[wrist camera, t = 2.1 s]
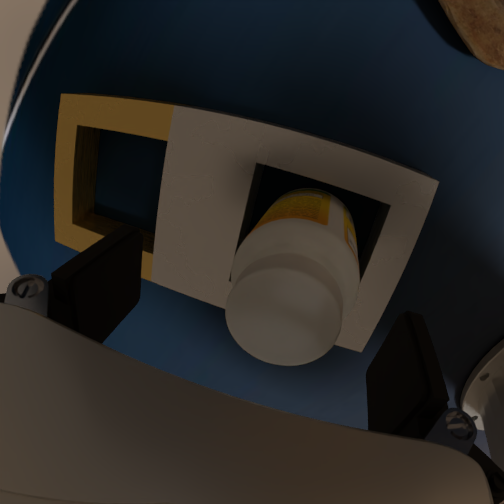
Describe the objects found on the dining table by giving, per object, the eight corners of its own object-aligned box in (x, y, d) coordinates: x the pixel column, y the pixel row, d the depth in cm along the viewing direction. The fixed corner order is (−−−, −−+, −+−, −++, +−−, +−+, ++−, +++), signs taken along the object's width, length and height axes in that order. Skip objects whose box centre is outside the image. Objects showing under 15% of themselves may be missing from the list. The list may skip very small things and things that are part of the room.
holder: (425, 173, 16) (439, 181, 14) (360, 328, 21) (361, 352, 18) (86, 92, 19) (61, 93, 17) (76, 229, 24) (55, 240, 21)
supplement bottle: (372, 225, 18) (397, 319, 9) (315, 286, 20) (294, 400, 12) (300, 166, 18) (265, 213, 9) (247, 234, 20) (181, 323, 12)
